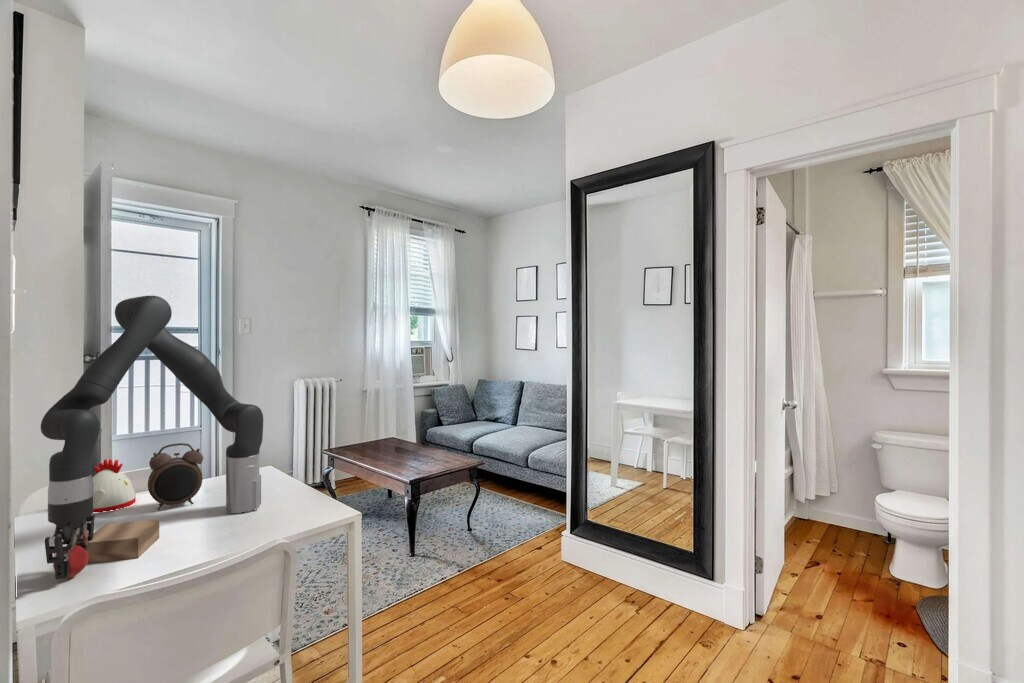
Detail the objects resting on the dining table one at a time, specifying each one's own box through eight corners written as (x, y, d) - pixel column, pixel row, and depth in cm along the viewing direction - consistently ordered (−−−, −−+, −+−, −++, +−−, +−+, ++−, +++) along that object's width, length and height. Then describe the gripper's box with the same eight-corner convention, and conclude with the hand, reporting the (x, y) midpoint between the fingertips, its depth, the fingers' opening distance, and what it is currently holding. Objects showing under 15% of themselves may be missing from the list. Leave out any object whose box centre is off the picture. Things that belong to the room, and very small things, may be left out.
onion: (68, 571, 110) (68, 537, 110) (95, 570, 111) (95, 536, 110) (46, 584, 104) (45, 548, 104) (74, 583, 105) (74, 547, 105)
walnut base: (159, 537, 128) (159, 519, 128) (138, 558, 117) (138, 537, 117) (106, 543, 125) (106, 524, 125) (79, 564, 114) (79, 543, 114)
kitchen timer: (114, 513, 146) (114, 465, 145) (66, 514, 144) (66, 465, 144) (145, 498, 159) (145, 453, 159) (102, 498, 158) (102, 454, 158)
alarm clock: (148, 514, 145) (147, 449, 144) (147, 507, 150) (147, 445, 150) (204, 504, 154) (204, 443, 154) (202, 498, 159) (201, 439, 159)
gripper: (71, 506, 101) (72, 584, 102) (108, 485, 115) (108, 554, 115) (28, 510, 99) (28, 589, 100) (70, 488, 113) (70, 558, 113)
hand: (71, 570), depth 107 cm, fingers closed on onion, 6 cm apart
